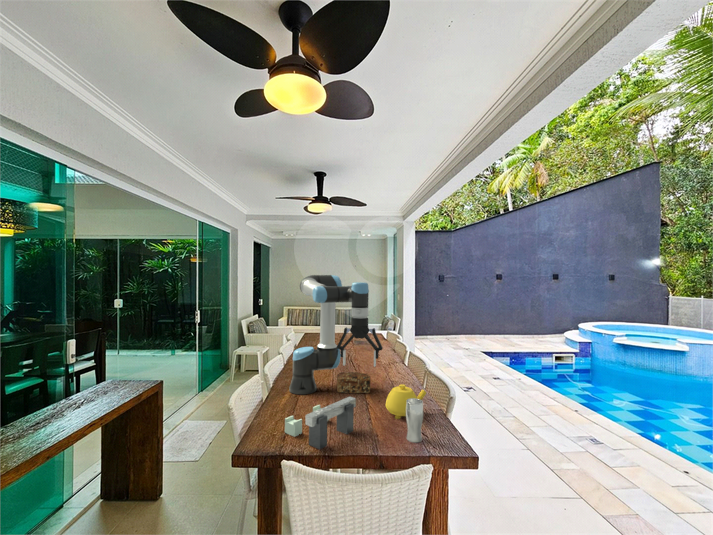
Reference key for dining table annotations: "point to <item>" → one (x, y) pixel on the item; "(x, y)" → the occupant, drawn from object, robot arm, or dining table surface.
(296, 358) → the robot arm
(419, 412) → the beer glass
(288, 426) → the rest
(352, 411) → the post
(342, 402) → the rail
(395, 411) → the teapot
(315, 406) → the rest
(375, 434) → the dining table surface
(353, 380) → the bread
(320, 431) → the post
